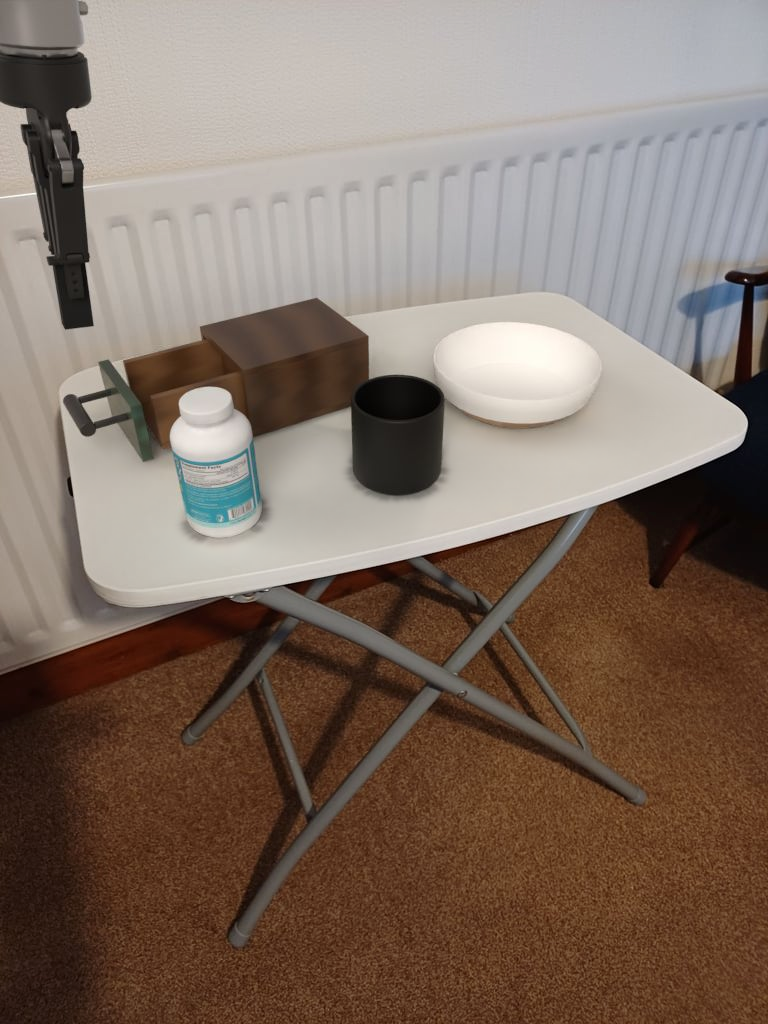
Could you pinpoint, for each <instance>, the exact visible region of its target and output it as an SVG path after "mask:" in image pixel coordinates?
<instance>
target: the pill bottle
mask: <svg viewBox="0 0 768 1024" xmlns="http://www.w3.org/2000/svg"><path fill="white" fill-rule="evenodd" d="M179 409H180V415H181V416H180V417H179V418H178V419H177V420H176V421H175V423H174V424H173V426H172V428H171V431H170V442H171V447H170V448H171V451H172V457H173V460H174V465H175V469H176V474H177V481H178V484H179V488H180V493H181V498H182V502H183V503H182V504H183V507H184V512H185V516H186V520H187V523H188V524H189V526H190V527H191V528H192V530H194V531H195V532H197V533H199V534H201V535H203V536H206V537H210V538H216V539H217V538H219V539H220V538H230V537H234V536H237V535H240V534H243V533H245V532H246V531H248V530H250V529H251V528H252V527H253V526H255V525H256V523H257V522H258V521H259V520H260V517H261V516H262V511H263V504H262V503H263V502H262V495H261V488H260V480H259V474H258V473H259V472H258V467H257V465H258V464H257V459H256V452H255V451H256V450H255V443H254V437H253V435H252V428H251V425H250V422H249V420H248V419H247V418H246V416H245V415H243V414H242V413H241V412H239V411H238V410H236V409H234V406H233V400H232V396H231V394H230V393H229V392H228V391H227V390H225V389H222V388H219V387H201V388H197V389H194V390H191V391H189V392H187V393H185V394H184V395H183V396H182V397H181V398H180V400H179Z"/></svg>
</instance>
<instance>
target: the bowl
mask: <svg viewBox="0 0 768 1024" xmlns="http://www.w3.org/2000/svg"><path fill="white" fill-rule="evenodd" d="M432 360H433V362H432V363H433V374H434V377H435V380H436V384H437V386H438V387H439V388H440V389H441V391H442V392H443V394H444V397H445V400H447V401H448V402H449V403H451V404H452V405H453V406H454V407H456V408H457V409H458V410H459V411H461V412H462V413H464V414H465V415H467V416H469V417H471V418H473V419H475V420H477V421H480V422H483V423H487V424H489V425H492V426H495V427H501V428H508V429H529V428H536V427H543V426H548V425H551V424H554V423H557V422H559V421H562V420H563V419H566V418H568V417H570V416H572V415H574V414H575V413H577V412H579V410H581V409H583V408H584V407H585V406H586V404H588V402H589V401H590V399H591V398H592V396H593V395H594V393H595V392H596V390H597V387H598V384H599V381H600V379H601V377H602V372H603V362H602V359H601V357H600V355H599V353H598V352H597V351H596V350H595V349H594V348H593V346H592V345H590V344H589V343H587V341H585V340H583V339H582V338H580V337H578V336H576V335H574V334H572V333H570V332H567V331H564V330H561V329H558V328H555V327H551V326H547V325H544V324H537V323H532V322H523V321H522V322H520V321H491V322H483V323H477V324H472V325H468V326H466V327H462V328H459V329H457V330H455V331H453V332H451V333H448V334H447V335H446V336H445V337H443V338H442V339H440V341H438V343H437V345H436V346H435V347H434V350H433V353H432Z"/></svg>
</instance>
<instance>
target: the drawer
mask: <svg viewBox="0 0 768 1024" xmlns="http://www.w3.org/2000/svg"><path fill="white" fill-rule="evenodd" d="M97 363H98V368H99V371H100V376H101V379H102V383H103V386H104V387H103V388H104V389H103V390H100V391H95V392H92V393H88V394H85V395H84V394H83V395H80V396H77V395H75V394H74V393H68V394H66V395H65V396H64V397H63V398H62V402H63V405H64V407H65V409H66V411H67V412H68V413H69V415H70V417H71V419H72V421H73V423H74V424H75V426H76V427H77V429H78V431H79V433H80V434H81V435H82V436H83V437H86V438H89V437H92V436H94V435H95V434H96V432H97V430H98V429H102V428H105V427H109V426H112V425H116V424H117V425H118V426H119V428H120V429H121V431H122V433H123V434H124V435H125V437H126V438H127V440H128V442H129V443H130V444H131V446H132V448H133V449H134V450H135V452H136V453H137V455H138V457H139V458H140V459H141V461H142V462H148V461H151V460H154V453H153V448H152V444H151V440H150V436H149V435H150V434H149V432H150V433H151V435H152V436H153V438H154V439H155V440H156V442H157V444H159V446H160V447H161V449H162V450H165V449H168V448H172V447H171V442H170V431H171V428H172V426H173V424H174V423H175V421H176V420H177V419H178V418H179V417H180V416H181V415H180V409H179V400H180V398H181V397H182V396H183V395H184V394H185V393H187V392H189V391H191V390H194V389H197V388H201V387H219V388H222V389H225V390H227V391H228V392H229V393H230V394H231V396H232V400H233V406H234V409H236V410H238V411H239V412H241V413H242V414H243V415H245V416H246V418H247V413H246V406H245V398H244V390H243V382H242V374H241V373H240V372H239V371H238V370H237V369H236V368H235V367H234V366H233V365H232V364H231V363H230V362H229V361H228V360H227V359H226V358H225V357H224V356H223V355H222V354H221V353H220V352H219V351H218V350H217V349H216V348H215V347H214V346H213V345H212V344H211V343H210V342H209V341H208V340H207V339H205V340H202V339H201V340H198V341H197V340H196V341H193V342H190V343H186V344H181V345H177V346H174V347H170V348H166V349H163V350H158V351H154V352H151V353H147V354H142V355H139V356H134V357H130V358H127V359H123V360H122V364H123V369H124V373H125V377H126V381H127V382H126V381H125V380H124V378H123V377H122V375H121V374H120V372H119V371H118V370H117V368H116V367H115V366H114V365H113V363H112V362H111V360H110V359H109V358H108V359H104V360H100V361H98V362H97ZM105 398H107V403H108V406H109V410H110V411H109V412H110V414H111V416H110V417H107V418H103V419H100V420H96V421H92V419H91V417H90V415H89V414H88V411H87V410H86V408H85V407H84V405H83V404H86V403H89V402H93V401H97V400H101V399H105Z"/></svg>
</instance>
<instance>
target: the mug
mask: <svg viewBox="0 0 768 1024" xmlns="http://www.w3.org/2000/svg"><path fill="white" fill-rule="evenodd" d="M445 404H446V397H445V396H444V394H443V392H442V391H441V389H440V388H439V386H438V384H435V383H433V382H432V381H430V380H428V379H425V378H422V377H419V376H416V375H410V374H385V375H379V376H375V377H371V378H369V380H367V381H365V382H363V383H361V384H360V385H358V386H357V387H356V388H355V389H354V391H353V393H352V395H351V407H350V418H351V419H350V420H351V421H350V422H351V453H352V472H353V474H354V476H355V478H356V480H357V481H358V482H359V483H360V485H362V486H363V487H364V488H366V489H368V490H370V491H372V492H375V493H378V494H383V495H387V496H407V495H412V494H417V493H420V492H422V491H425V490H426V489H427V490H428V488H430V487H431V486H432V485H434V484H435V483H436V481H437V480H438V478H439V477H440V475H441V472H442V458H443V441H444V424H445V407H446V406H445Z"/></svg>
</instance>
